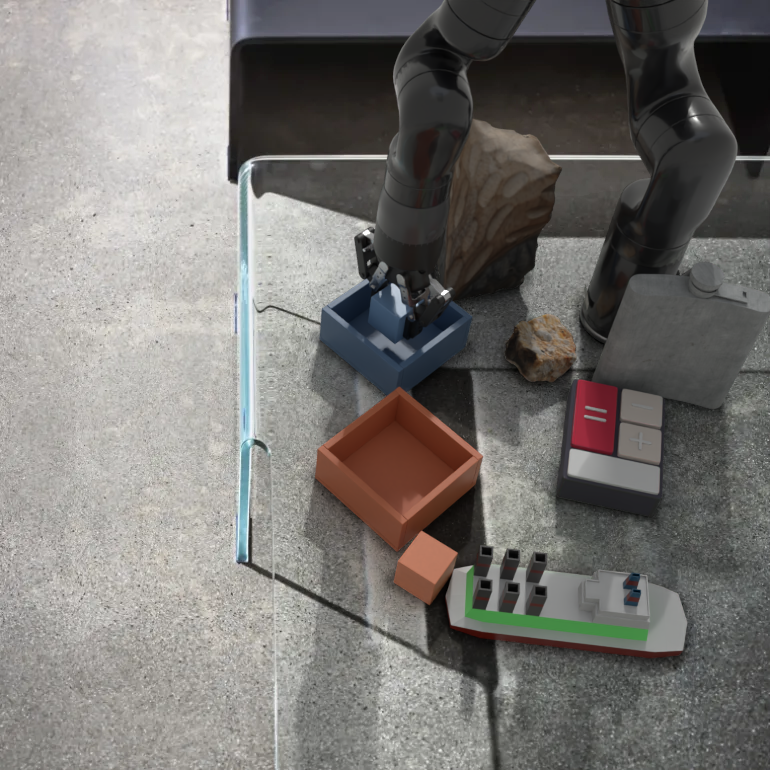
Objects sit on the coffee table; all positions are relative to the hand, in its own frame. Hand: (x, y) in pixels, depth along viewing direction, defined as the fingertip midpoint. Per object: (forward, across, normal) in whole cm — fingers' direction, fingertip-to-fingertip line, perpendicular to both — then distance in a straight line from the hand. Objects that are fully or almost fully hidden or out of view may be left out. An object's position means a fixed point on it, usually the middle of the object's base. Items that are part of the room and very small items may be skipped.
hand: (394, 321), depth 136 cm
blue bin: (+4, 0, 0) cm, 4 cm away
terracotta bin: (+4, -14, +14) cm, 20 cm away
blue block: (0, 0, 0) cm, 0 cm away
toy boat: (+4, -37, +12) cm, 39 cm away
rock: (+4, -13, -12) cm, 18 cm away
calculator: (+4, -28, -7) cm, 29 cm away
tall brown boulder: (+4, +2, -16) cm, 17 cm away
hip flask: (+4, -26, -19) cm, 33 cm away
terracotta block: (+4, -24, +20) cm, 32 cm away
